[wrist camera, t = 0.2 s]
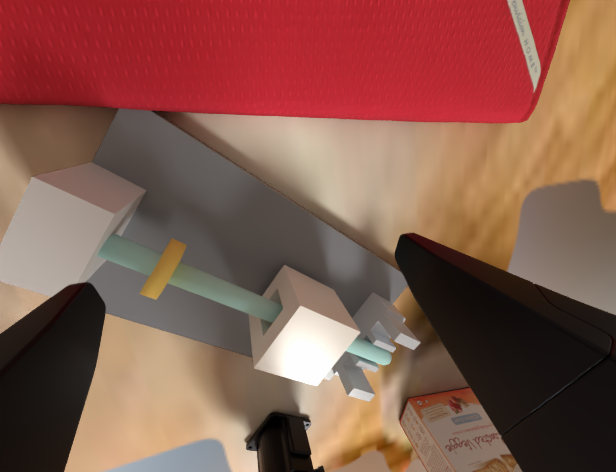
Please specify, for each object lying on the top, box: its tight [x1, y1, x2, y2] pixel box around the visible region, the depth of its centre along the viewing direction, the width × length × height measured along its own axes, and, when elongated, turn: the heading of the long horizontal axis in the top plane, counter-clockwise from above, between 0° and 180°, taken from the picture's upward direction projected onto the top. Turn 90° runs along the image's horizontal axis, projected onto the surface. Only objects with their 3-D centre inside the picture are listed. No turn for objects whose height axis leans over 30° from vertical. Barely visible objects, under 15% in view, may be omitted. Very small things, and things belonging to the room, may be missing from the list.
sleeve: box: [249, 265, 360, 386], centre depth 22 cm, size 6×6×6 cm
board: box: [0, 108, 421, 401], centre depth 22 cm, size 16×30×7 cm, turn 53°
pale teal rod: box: [98, 233, 391, 365], centre depth 21 cm, size 4×29×4 cm, turn 53°
